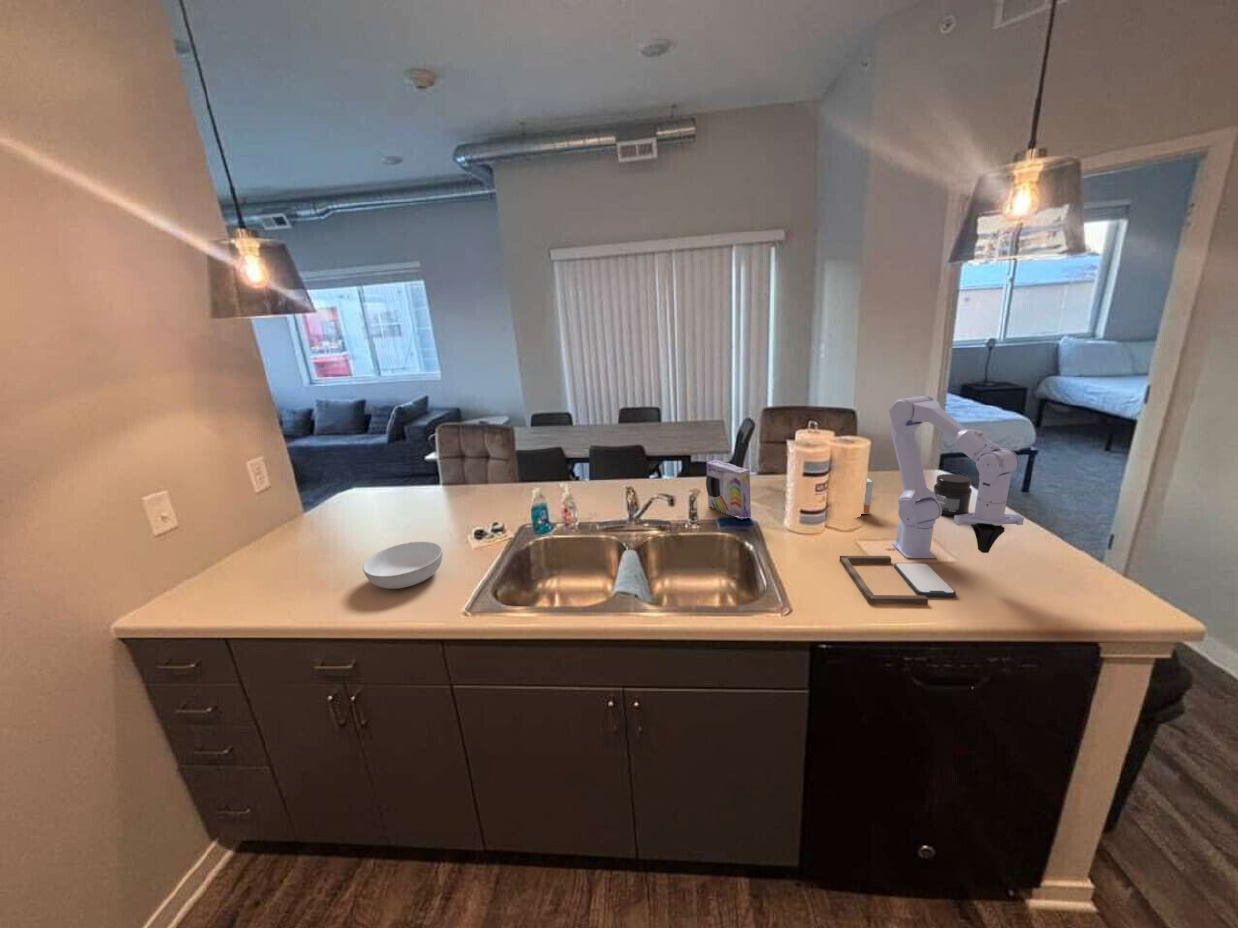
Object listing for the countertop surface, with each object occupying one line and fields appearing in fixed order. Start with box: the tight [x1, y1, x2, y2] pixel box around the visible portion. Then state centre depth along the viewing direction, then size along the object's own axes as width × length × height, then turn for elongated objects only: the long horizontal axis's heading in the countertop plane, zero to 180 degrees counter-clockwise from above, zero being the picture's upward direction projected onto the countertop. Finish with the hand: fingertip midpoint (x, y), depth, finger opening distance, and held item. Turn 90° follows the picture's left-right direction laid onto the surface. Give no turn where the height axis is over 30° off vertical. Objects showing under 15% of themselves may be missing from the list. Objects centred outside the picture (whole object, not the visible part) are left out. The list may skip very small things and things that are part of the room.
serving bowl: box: [362, 541, 443, 590], centre depth 141 cm, size 21×21×7 cm
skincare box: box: [864, 477, 874, 515], centre depth 168 cm, size 6×4×12 cm
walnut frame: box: [838, 555, 929, 606], centre depth 127 cm, size 22×13×2 cm, turn 174°
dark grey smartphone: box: [893, 562, 957, 599], centre depth 126 cm, size 9×2×16 cm
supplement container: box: [933, 473, 973, 518], centre depth 165 cm, size 10×10×12 cm
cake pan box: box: [705, 459, 752, 517], centre depth 174 cm, size 19×5×18 cm, turn 28°
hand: (983, 551), depth 122 cm, fingers closed
